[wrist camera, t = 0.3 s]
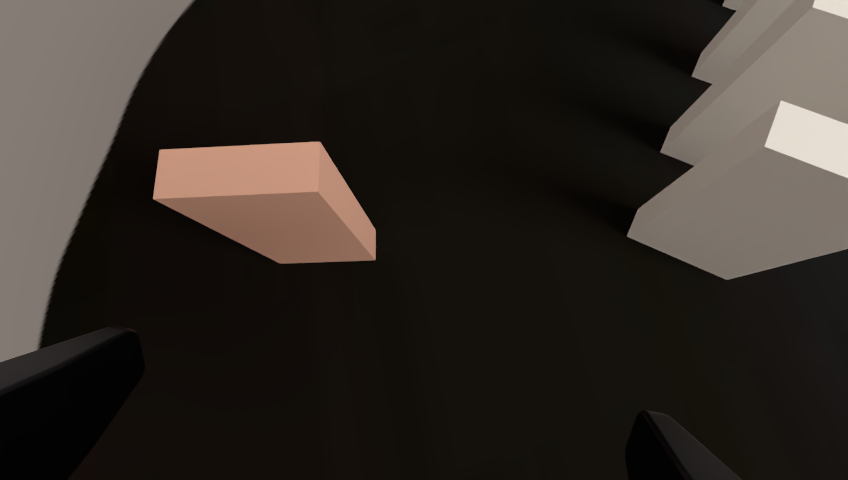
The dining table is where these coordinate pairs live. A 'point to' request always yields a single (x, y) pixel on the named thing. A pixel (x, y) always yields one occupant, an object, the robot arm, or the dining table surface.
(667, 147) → the domino
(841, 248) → the domino
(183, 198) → the domino
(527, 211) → the dining table surface
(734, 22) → the domino
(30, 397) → the robot arm
